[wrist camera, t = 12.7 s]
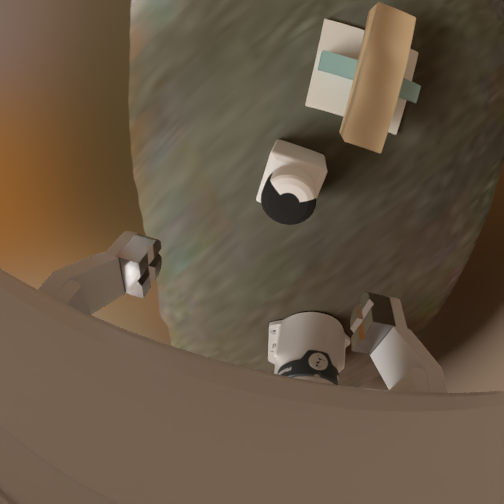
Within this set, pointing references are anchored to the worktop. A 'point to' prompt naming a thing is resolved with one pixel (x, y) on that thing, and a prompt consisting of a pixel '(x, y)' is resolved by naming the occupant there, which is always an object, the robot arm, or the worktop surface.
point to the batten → (378, 77)
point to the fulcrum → (349, 72)
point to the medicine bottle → (291, 182)
